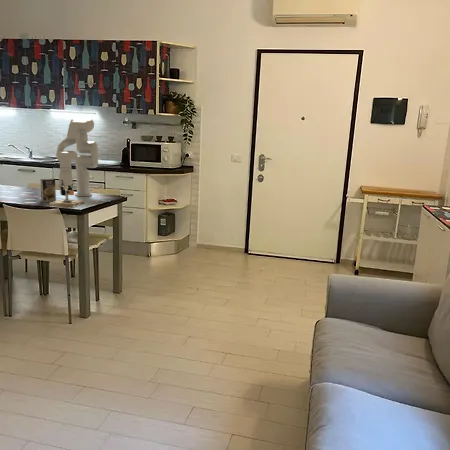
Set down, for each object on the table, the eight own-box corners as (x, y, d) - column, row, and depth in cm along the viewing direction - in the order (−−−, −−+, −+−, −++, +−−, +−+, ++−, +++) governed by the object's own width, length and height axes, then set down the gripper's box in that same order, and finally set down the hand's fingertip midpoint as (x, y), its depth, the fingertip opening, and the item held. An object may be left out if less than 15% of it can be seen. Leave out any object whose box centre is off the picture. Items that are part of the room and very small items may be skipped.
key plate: (63, 201, 345) (63, 198, 344) (84, 203, 340) (84, 200, 340) (49, 205, 329) (49, 202, 328) (70, 207, 324) (70, 204, 324)
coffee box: (43, 202, 339) (42, 180, 335) (41, 200, 344) (39, 178, 340) (56, 201, 344) (55, 179, 341) (53, 199, 349) (52, 178, 346)
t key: (59, 200, 333) (59, 189, 331) (63, 199, 337) (62, 189, 335) (71, 202, 330) (70, 190, 329) (74, 201, 335) (74, 190, 333)
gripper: (68, 168, 338) (69, 192, 342) (53, 170, 322) (54, 195, 326) (77, 168, 336) (78, 193, 340) (63, 171, 320) (64, 196, 324)
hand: (66, 194), depth 333 cm, fingers open, 7 cm apart
